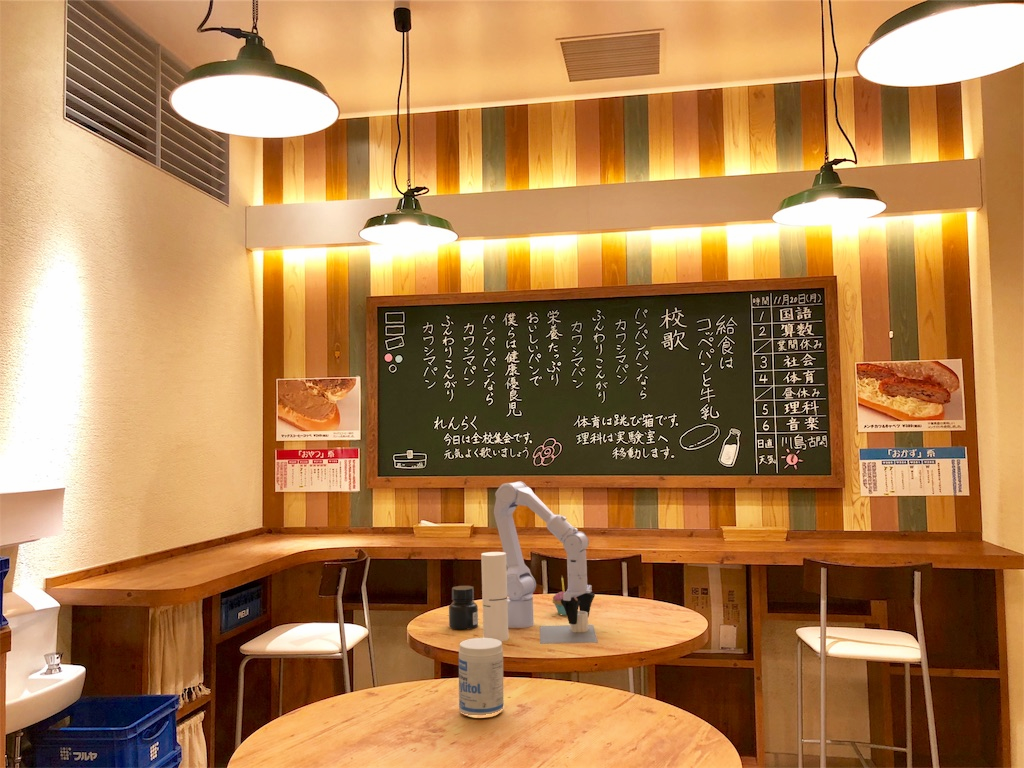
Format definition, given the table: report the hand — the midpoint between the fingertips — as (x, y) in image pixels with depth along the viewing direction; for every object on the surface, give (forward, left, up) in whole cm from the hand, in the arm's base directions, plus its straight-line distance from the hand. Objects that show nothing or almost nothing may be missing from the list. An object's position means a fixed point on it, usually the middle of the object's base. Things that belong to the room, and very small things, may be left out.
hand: (578, 621), depth 237 cm
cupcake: (-3, +26, -4) cm, 26 cm away
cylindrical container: (-24, -8, -4) cm, 26 cm away
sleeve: (0, 0, -3) cm, 3 cm away
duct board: (-3, -4, -4) cm, 6 cm away
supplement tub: (-24, -65, -4) cm, 69 cm away
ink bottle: (-35, +11, -4) cm, 37 cm away
